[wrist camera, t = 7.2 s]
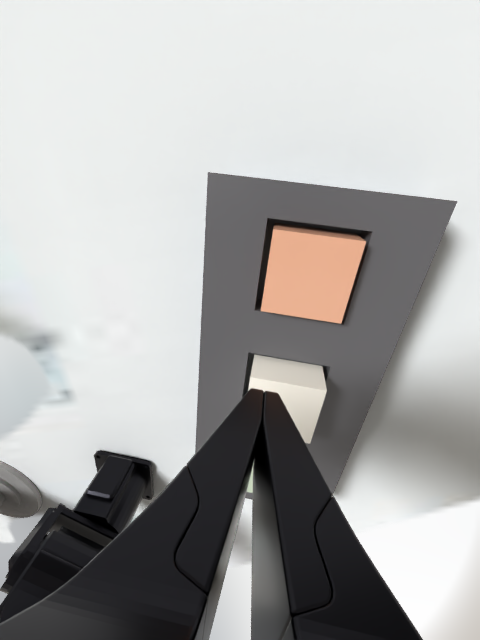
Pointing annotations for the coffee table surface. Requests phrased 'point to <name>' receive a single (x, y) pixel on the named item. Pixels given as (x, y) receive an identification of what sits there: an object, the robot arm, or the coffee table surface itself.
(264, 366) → the ivory keycap
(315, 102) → the coffee table surface
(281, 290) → the terracotta keycap
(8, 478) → the mate gourd
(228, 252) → the grey flat rectangular block
